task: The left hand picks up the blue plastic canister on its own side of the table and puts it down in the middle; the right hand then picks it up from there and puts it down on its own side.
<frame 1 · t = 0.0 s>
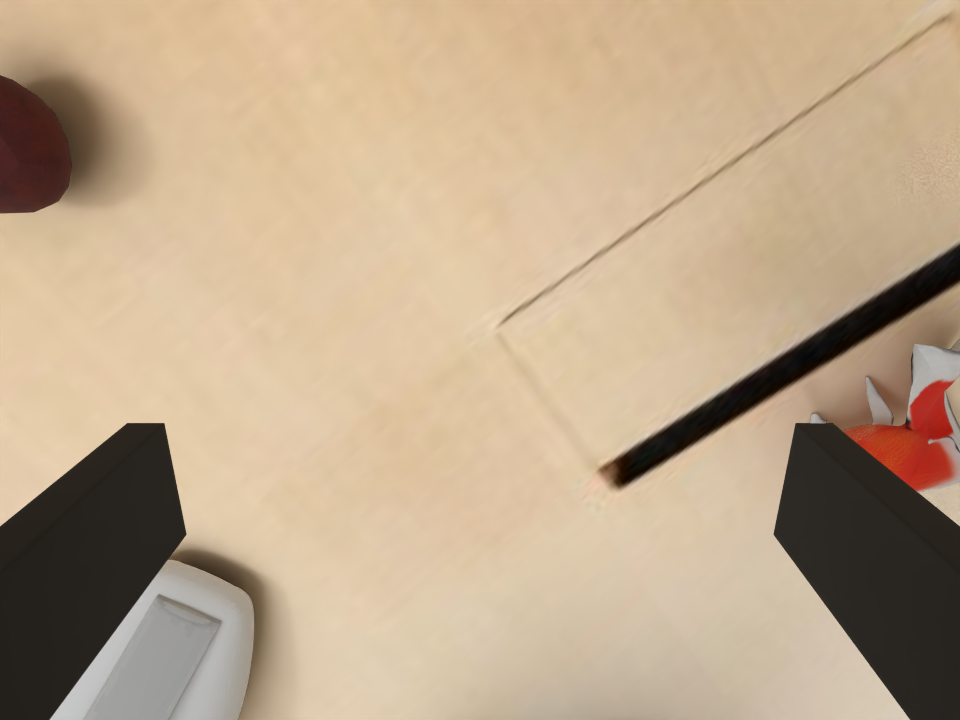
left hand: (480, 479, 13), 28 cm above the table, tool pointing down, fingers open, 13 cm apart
projector: (162, 657, 51), on the table
fish: (868, 394, 43), on the table
dark red ball: (38, 145, 37), on the table
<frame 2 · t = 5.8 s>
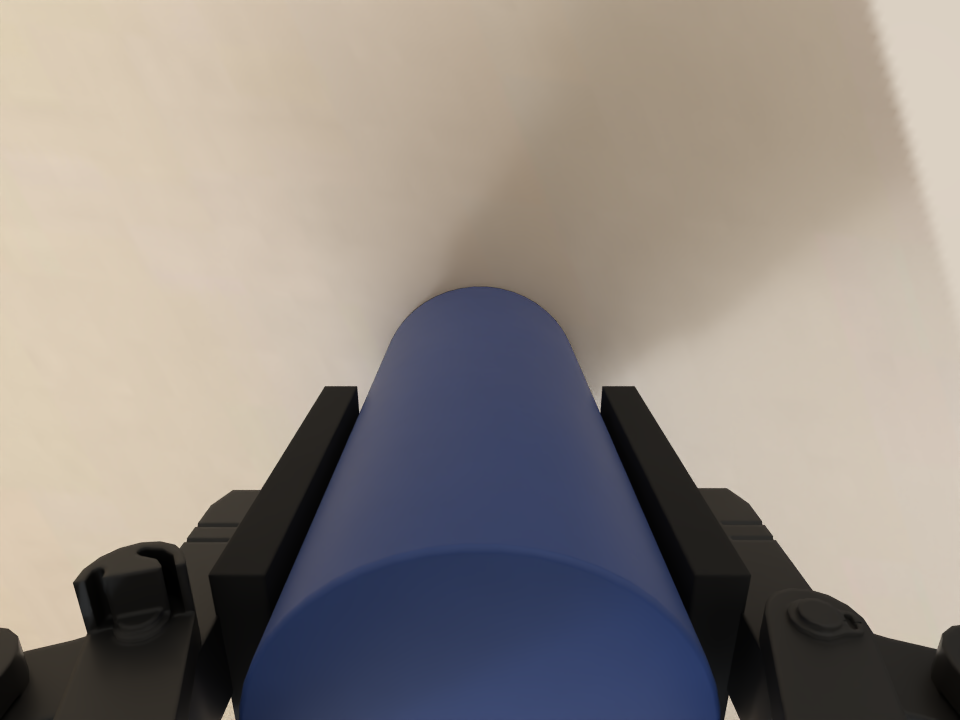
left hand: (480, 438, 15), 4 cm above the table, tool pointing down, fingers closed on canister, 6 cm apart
canister: (479, 380, 18), on the table, touching left hand
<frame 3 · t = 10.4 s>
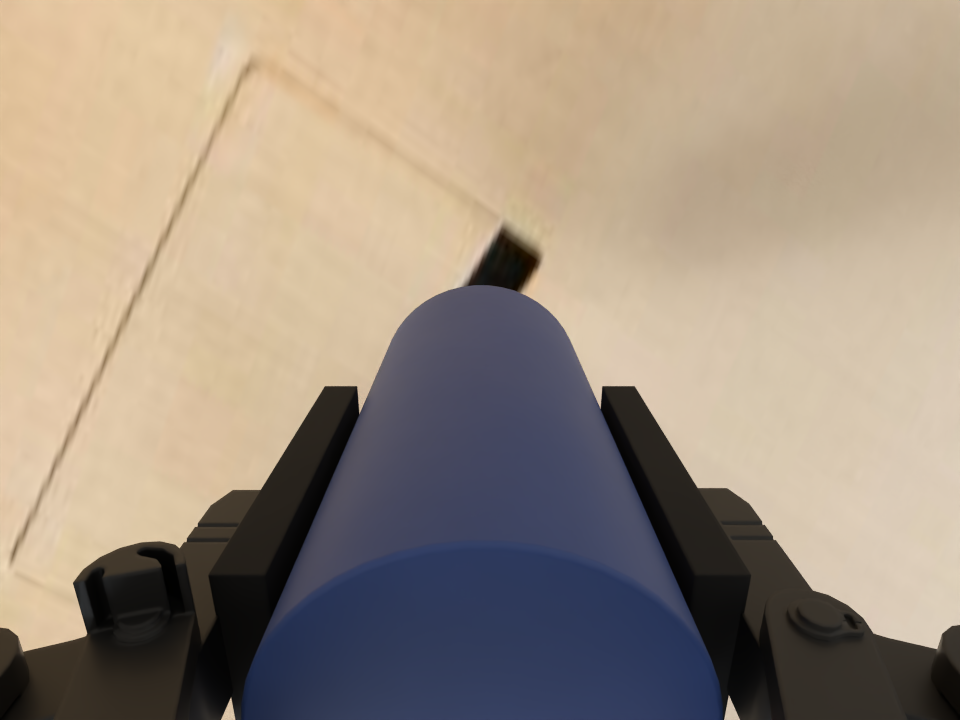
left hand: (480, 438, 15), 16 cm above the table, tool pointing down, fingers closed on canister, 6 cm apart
canister: (480, 378, 18), point 12 cm above the table, touching left hand
when the left hand's fingers open (5 cm above the table, at t = 15.0 s): canister drops 1 cm, on the table.
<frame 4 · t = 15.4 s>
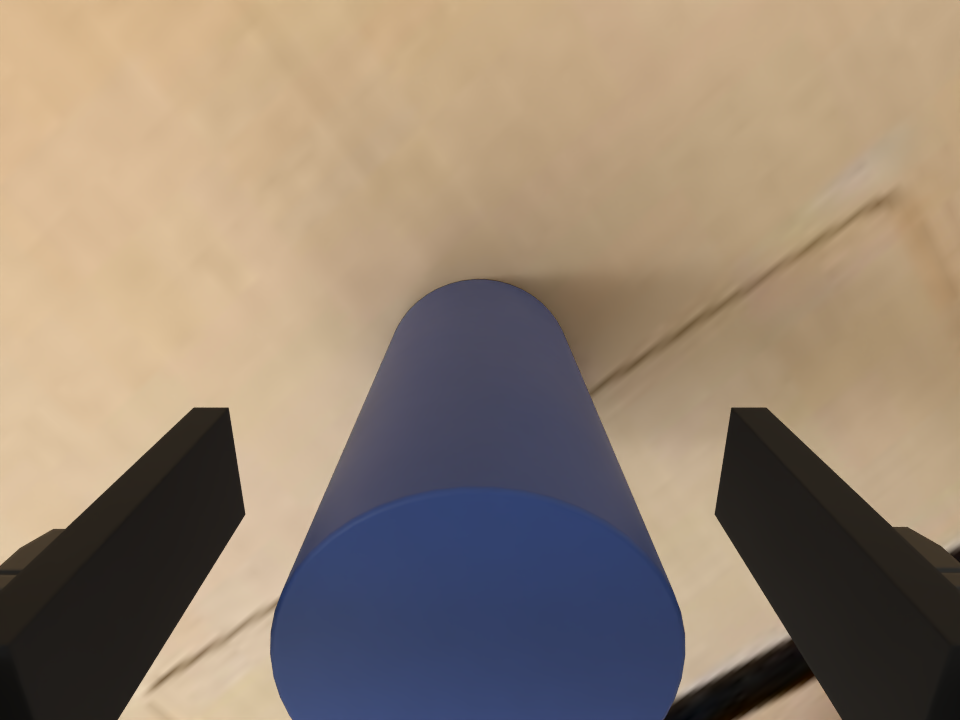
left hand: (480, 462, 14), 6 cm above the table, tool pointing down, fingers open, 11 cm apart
canister: (479, 367, 19), on the table
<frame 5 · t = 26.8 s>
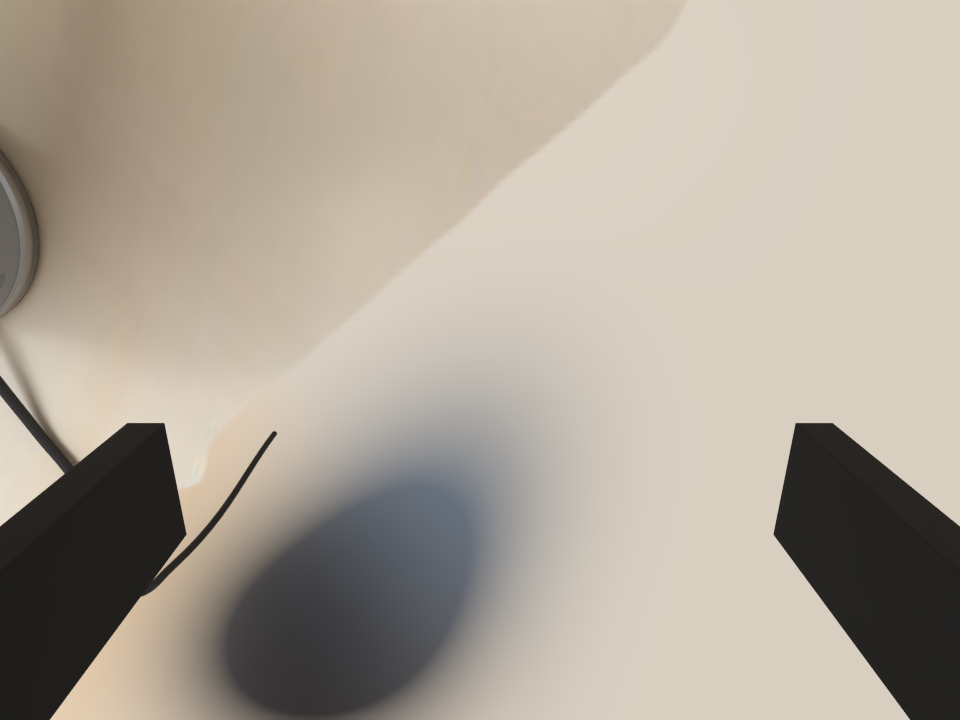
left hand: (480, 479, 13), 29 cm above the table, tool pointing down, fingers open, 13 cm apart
when the right hand's fingers open (5 cm above the table, at t = 33.7 s): canister drops 1 cm, on the table.
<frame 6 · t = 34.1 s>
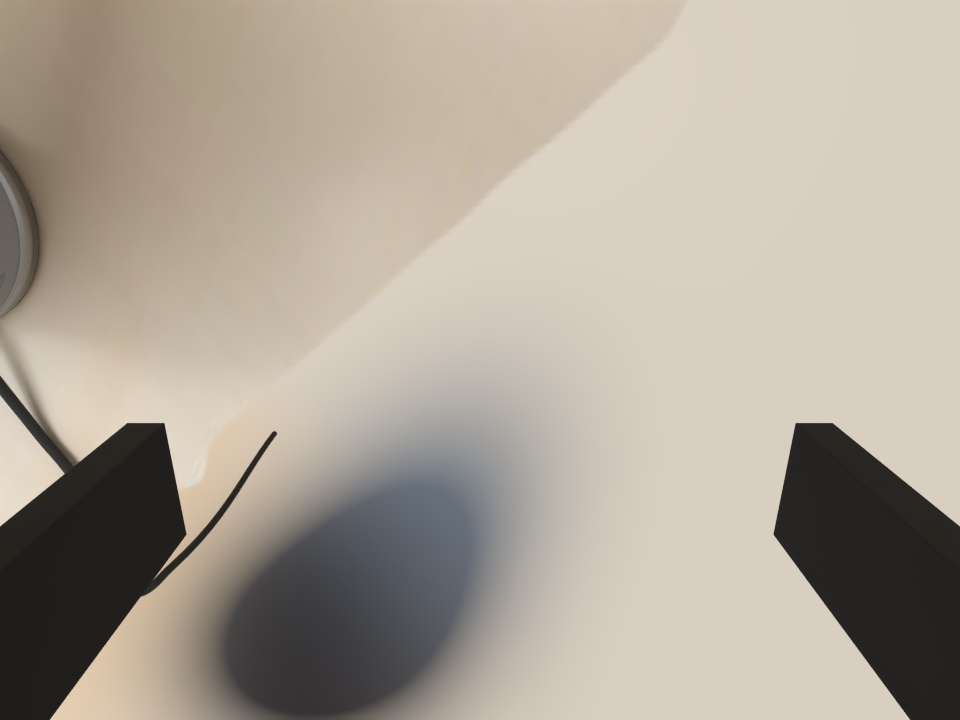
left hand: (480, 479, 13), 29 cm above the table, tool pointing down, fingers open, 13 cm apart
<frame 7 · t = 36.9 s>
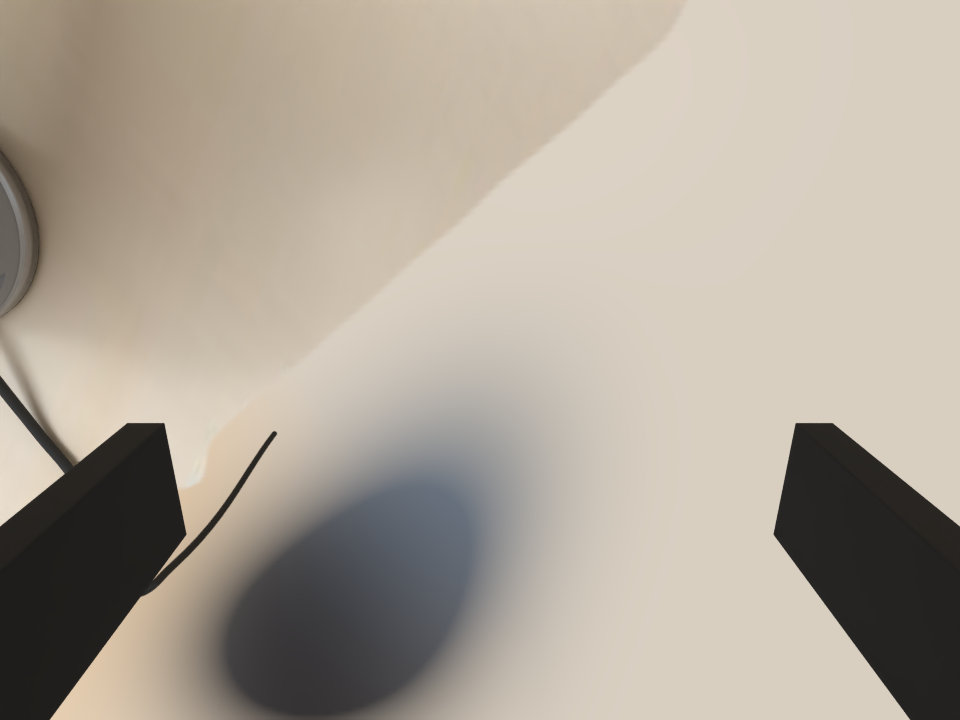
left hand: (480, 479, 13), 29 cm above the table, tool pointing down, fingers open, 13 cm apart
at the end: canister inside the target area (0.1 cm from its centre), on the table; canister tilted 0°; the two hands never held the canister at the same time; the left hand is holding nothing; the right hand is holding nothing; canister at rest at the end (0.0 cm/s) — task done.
